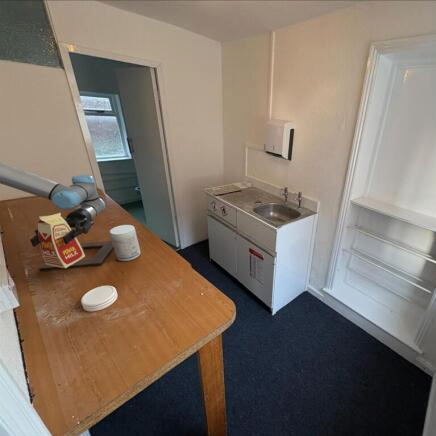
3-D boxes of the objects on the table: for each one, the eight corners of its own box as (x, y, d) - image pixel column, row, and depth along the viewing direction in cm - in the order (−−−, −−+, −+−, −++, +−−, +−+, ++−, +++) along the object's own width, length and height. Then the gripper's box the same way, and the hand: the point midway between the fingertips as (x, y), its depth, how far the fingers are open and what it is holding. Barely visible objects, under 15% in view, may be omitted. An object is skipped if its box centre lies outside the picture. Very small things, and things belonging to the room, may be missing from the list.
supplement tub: (120, 252, 114) (113, 225, 107) (143, 249, 117) (136, 223, 110) (114, 263, 105) (105, 235, 99) (138, 260, 108) (131, 233, 102)
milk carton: (65, 268, 87) (43, 220, 79) (44, 265, 88) (20, 217, 80) (88, 254, 95) (70, 210, 87) (68, 252, 96) (49, 207, 88)
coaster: (107, 312, 81) (104, 304, 79) (76, 312, 80) (72, 304, 78) (123, 292, 90) (121, 284, 88) (96, 292, 89) (93, 284, 87)
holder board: (40, 271, 97) (38, 268, 97) (67, 246, 115) (66, 244, 114) (101, 265, 103) (100, 262, 103) (118, 243, 121) (118, 240, 120)
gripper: (111, 222, 107) (88, 248, 87) (54, 225, 101) (15, 253, 81) (107, 207, 104) (81, 230, 84) (48, 209, 98) (5, 235, 78)
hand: (49, 241), depth 83 cm, fingers closed on milk carton, 8 cm apart
